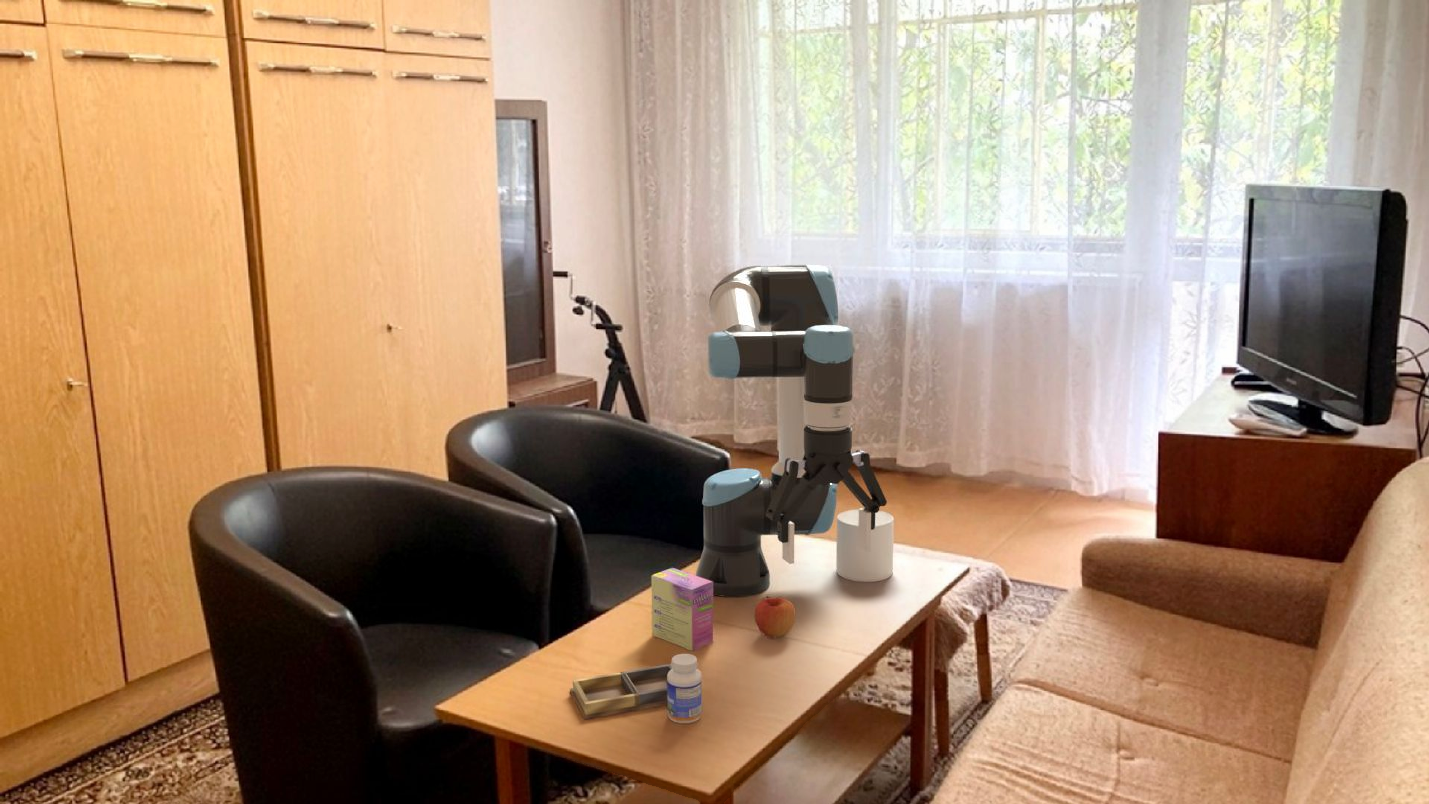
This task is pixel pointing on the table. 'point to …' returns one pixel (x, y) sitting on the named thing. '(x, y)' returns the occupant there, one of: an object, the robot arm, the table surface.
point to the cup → (857, 561)
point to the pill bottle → (684, 689)
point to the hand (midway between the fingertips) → (826, 555)
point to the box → (682, 608)
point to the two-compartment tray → (621, 691)
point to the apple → (774, 617)
